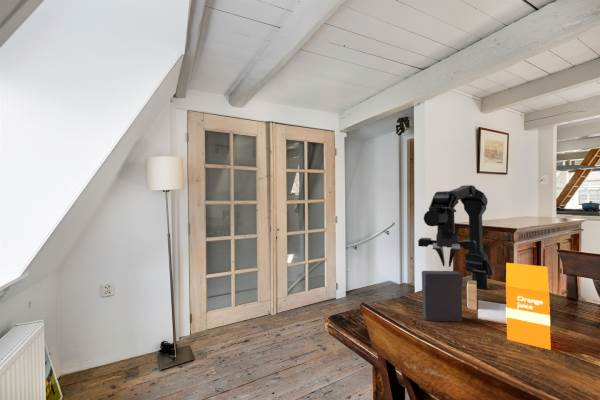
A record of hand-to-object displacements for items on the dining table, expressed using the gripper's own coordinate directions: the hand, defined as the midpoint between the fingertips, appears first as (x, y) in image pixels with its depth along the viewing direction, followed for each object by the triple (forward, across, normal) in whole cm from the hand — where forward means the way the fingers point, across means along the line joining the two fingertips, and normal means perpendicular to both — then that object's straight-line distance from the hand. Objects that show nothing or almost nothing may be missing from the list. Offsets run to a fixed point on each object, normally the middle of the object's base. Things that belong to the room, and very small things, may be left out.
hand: (446, 266), depth 103 cm
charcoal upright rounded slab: (+13, 0, -18) cm, 22 cm away
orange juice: (+13, +21, -20) cm, 32 cm away
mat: (+13, +18, -3) cm, 22 cm away
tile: (+13, +8, 0) cm, 15 cm away
